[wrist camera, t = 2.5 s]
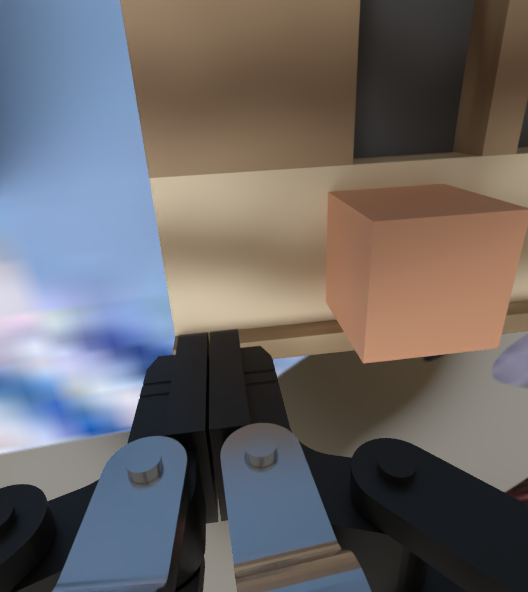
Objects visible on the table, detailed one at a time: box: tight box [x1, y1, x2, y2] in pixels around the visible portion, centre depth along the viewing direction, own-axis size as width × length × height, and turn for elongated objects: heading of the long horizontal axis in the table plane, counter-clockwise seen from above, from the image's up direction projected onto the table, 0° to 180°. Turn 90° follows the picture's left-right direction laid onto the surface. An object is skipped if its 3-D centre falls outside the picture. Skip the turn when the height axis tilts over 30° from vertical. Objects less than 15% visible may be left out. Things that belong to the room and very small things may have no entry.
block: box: [326, 184, 528, 363], centre depth 15 cm, size 5×5×5 cm
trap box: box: [120, 0, 528, 359], centre depth 17 cm, size 16×22×4 cm
